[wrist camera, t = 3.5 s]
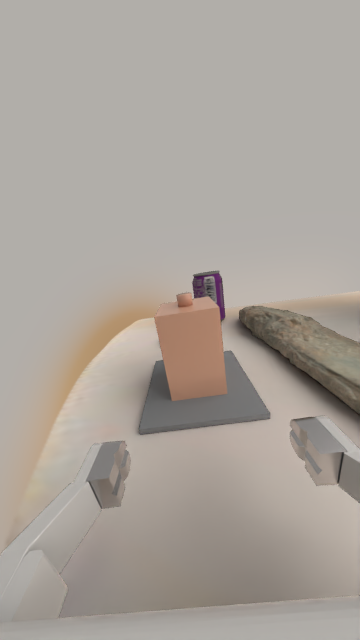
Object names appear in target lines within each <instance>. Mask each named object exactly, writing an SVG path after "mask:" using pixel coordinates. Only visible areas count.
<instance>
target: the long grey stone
mask: <svg viewBox="0 0 360 640" xmlns="http://www.w3.org/2000/svg"><path fill="white" fill-rule="evenodd" d="M239 319H240V320H241V321H242V322H243V323H244V324H245V325H246V326H247V328H249V329H250V330H251V332H252V333H253V334H252V335H253V336H257V337H258V339H262V340H263V341H264V342H265V343H267V344H268V345H269V346H271V347H272V348H274V349H276V350H279V351H280V353H281V354H282V355H284V357H286V358H290V362H291V364H293V365H296V367H297V368H299V369H301V370H303V371H305V372H306V373H307V374H308V375H310V376H311V377H312V378H314V379H315V380H317V381H318V382H320V383H321V384H322V385H323V386H324V387H325V388H327V389H328V390H329V391H331V392H332V393H333V394H334V395H336V396H337V397H338V398H339V399H341V400H342V401H343V402H344V403H346V404H347V405H349V406H350V407H351V408H352V409H353V410H355V411H356V412H357V413H358V414H359V415H360V343H358V342H356V341H354V340H351V339H349V338H346V337H344V336H341V335H339V334H337V333H336V332H335V331H332V330H330V329H328V328H326V327H323V326H321V325H320V324H319V323H318V322H317V321H315V320H313V319H312V318H311V317H306V316H303V315H299V314H296V313H292V312H289V311H288V310H284V311H282V310H279V309H273V308H267V307H263V306H251V307H245V308H244V309H242V310H240V311H239Z"/></svg>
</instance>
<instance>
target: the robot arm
mask: <svg viewBox="0 0 360 640" xmlns="http://www.w3.org/2000/svg"><path fill="white" fill-rule="evenodd" d="M290 426H291V428H292V431H291V432H290V441H291V444H292V447H293V449H294V451H295V452H296V454H297V456H298V457H299V458H301V459H302V460H304V461H305V468H306V470H307V472H308V473H309V475H310V476H311V478H312V480H313V481H314V483H315V484H316V486H321V485H335V484H339V485H338V486H339V487H341V488H342V489H343V490H344V491H345V492H347V493H348V494H349V495H350V496H351V497H353V498H354V499H355V500H356V501H358V502H359V503H360V449H359V448H358V447H357V446H356V445H355V444H354V443H353V442H352V441H351V440H350V439H349V438H348V437H347V436H346V435H345V434H344V433H343V432H342V431H341V430H340V429H339V428H338V427H337V426H336V425H335V424H334V423H333V422H332V421H331V420H330V419H329V418H328V417H327V416H325V415H324V416H316V417H306V418H299V419H292V420H291V421H290ZM126 446H127V445H126V443H125V441H115V442H104V443H95V444H93V445H92V447H91V448H90V450H89V452H88V454H87V456H86V458H85V460H84V462H83V464H82V466H81V468H80V470H79V472H78V474H77V476H76V478H75V480H74V482H73V483H70V484H69V485H68V486H67V487H66V488H65V489H64V490H63V491H62V492H61V493H60V494H59V495H58V496H57V497H56V498H55V499H54V500H53V501H52V502H51V503H50V504H49V505H48V506H47V507H46V508H45V509H44V510H43V511H42V512H41V513H40V514H39V515H38V516H37V517H36V518H35V519H34V520H33V521H32V522H31V523H30V524H29V525H28V526H27V527H26V528H25V529H24V530H23V531H22V532H21V533H20V534H19V535H18V536H17V537H16V538H15V539H14V540H13V542H12V543H11V544H10V545H9V546H8V547H7V548H6V549H5V550H4V551H3V552H2V553H1V555H0V640H360V595H355V596H342V597H328V598H315V599H302V600H289V601H276V602H262V603H249V604H236V605H223V606H209V607H196V608H183V609H170V610H157V611H143V612H130V613H117V614H104V615H90V616H77V617H64V618H59V615H60V612H61V609H62V606H63V603H64V600H65V597H66V594H67V591H68V589H67V584H66V583H65V582H64V580H63V579H62V577H61V576H60V573H61V571H62V570H63V568H64V567H65V565H66V564H67V562H68V561H69V559H70V558H71V556H72V555H73V553H74V552H75V550H76V549H77V547H78V546H79V544H80V543H81V541H82V540H83V538H84V537H85V535H86V534H87V532H88V531H89V529H90V528H91V526H92V525H93V523H94V522H95V520H96V519H97V517H98V516H99V514H100V513H101V511H102V510H101V509H105V508H112V507H119V506H121V503H122V499H123V495H124V491H125V484H124V481H125V479H126V478H127V477H128V475H129V471H130V463H131V459H130V454H129V452H128V451H127V450H125V449H126Z"/></svg>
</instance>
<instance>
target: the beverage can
mask: <svg viewBox="0 0 360 640" xmlns="http://www.w3.org/2000/svg"><path fill="white" fill-rule="evenodd" d="M193 276H194V279H193V291H194V299H195V298H201V297H208V296H209V297H210V298H211V299H212V300H213V301H214V302H215V303H216V304H217V305H218V306H219V309H220V320H222V319H224V318H225V308H224V296H223V284H222V278H221V276H220V274H219V271H211V272H205V273H199V274H194V275H193Z"/></svg>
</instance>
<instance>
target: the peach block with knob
mask: <svg viewBox="0 0 360 640" xmlns="http://www.w3.org/2000/svg"><path fill="white" fill-rule="evenodd" d="M154 318H155V323H156V328H157V332H158V337H159V342H160V347H161V351H162V356H163V361H164V366H165V370H166V375H167V380H168V384H169V389H170V394H171V399H172V401H177V400H184V399H192V398H200V397H207V396H215V395H223V394H227V385H226V374H225V363H224V352H223V342H222V331H221V320H220V309H219V306H218V305H217V304H216V303H215V302H214V301H213V300H212V299H211V298H210V297H209V296H208V297H201V298H195V299H192V295H191V293H182V294H178V295H177V301H176V302H170V303H163V304H161V305H160V307H159V309H158V311H157V313H156V315H155V317H154Z"/></svg>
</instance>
